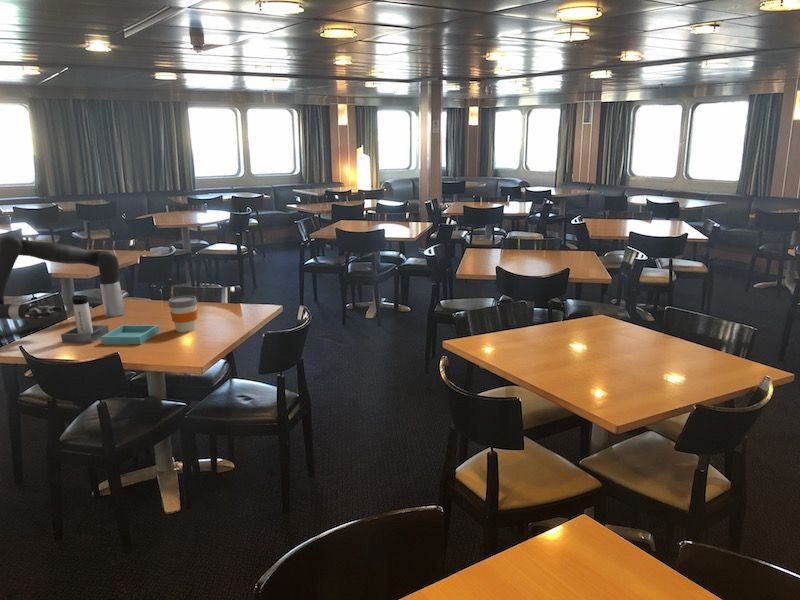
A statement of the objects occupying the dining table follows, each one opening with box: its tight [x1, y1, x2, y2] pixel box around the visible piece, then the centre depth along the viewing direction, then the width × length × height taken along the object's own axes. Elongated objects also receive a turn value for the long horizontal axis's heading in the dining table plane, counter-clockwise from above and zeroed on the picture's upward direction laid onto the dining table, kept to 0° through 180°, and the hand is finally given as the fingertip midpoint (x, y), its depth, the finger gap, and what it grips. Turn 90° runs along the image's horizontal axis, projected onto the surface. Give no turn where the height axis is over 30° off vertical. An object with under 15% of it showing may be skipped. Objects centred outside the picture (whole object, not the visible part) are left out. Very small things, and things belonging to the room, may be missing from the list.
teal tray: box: [100, 324, 161, 346], centre depth 281 cm, size 18×18×4 cm
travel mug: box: [71, 294, 93, 334], centre depth 281 cm, size 6×7×20 cm
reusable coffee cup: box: [168, 295, 198, 333], centre depth 290 cm, size 13×12×15 cm
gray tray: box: [60, 324, 110, 344], centre depth 283 cm, size 14×14×4 cm
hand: (56, 311), depth 281 cm, fingers open, 8 cm apart
